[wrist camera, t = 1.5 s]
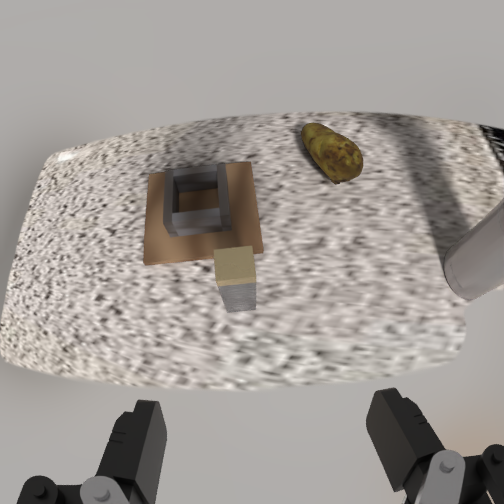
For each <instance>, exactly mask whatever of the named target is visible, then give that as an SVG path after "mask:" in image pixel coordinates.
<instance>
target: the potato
mask: <svg viewBox="0 0 504 504" xmlns="http://www.w3.org/2000/svg"><path fill="white" fill-rule="evenodd" d="M301 136H302V141H303V143H304V144H305V145H304V146H305V147H306V149H307V150H308V151H309V153H310V155H311V157H312V158H313V160H314V161H315V162H316V163H317V164H318V165H319V167H320V168H321V169H322V170H323V171H324V172H325V174H326V175H327V176H329V177H330V178H331V179H330V180H332V181H331V182H333V183H334V184H340V182H346V181H350V180H351V179H354V178H356V177H358V176H359V175H360V174H361V171H362V168H363V157H362V154H361V151H360V150H359V148H358V146H357V145H356V144H355V143H354V142H352V141H351V140H349V139H348V138H346V137H344V136H343V135H340V134H338V133H335V132H334V131H333V130H331V129H330V128H328V127H326V126H324V125H322V124H318V123H308V124H306V125H305V126H304V127H303V129H302V131H301Z"/></svg>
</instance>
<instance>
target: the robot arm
mask: <svg viewBox="0 0 504 504" xmlns="http://www.w3.org/2000/svg"><path fill="white" fill-rule="evenodd" d="M444 271H445V276H446V279H447V281H448V283H449V285H450V287H451V288H452V290H453V291H454V292H455V293H456V294H457V295H458V296H460V297H461V298H463V299H466V300H473V299H476V298H478V297H480V296H482V295H484V294H486V293H487V292H489V291H491V290H493V289H495V288H497V287H498V286H500V285H502V284H504V198H503V199H502V201H501V202H500V203H499V204H498V205H497V206H496V207H495V208H494V209H492V210H491V211H490V212H489V213H488V214H487V215H486V216H485V217H484V218H483V219H482V220H481V221H480V222H479V223H478V224H477V225H476V226H475V227H474V228H472V229H471V230H470V231H469V232H468V233H467V234H466V235H465V236H464V237H462V238H461V239H460V240H459V241H458V242H457V243H456V244H455V245H453V246H452V247H451V248H450V249H449V250H448V252H447V253H446V256H445V260H444ZM366 427H367V431H368V433H369V435H370V437H371V440H372V442H373V444H374V447H375V449H376V451H377V454H378V456H379V458H380V460H381V462H382V465H383V467H384V470H385V472H386V474H387V477H388V479H389V481H390V484H391V486H392V488H393V491H394V492H397V491H400V490H403V489H404V490H405V492H406V495H405V497H404V499H403V501H402V504H492V502H491V500H490V498H489V496H488V494H487V493H486V492H487V491H488V492H489V494H490V495H491V497H492V499H493V501H494V503H495V504H504V446H502V445H499V444H494V445H490V446H489V447H487V448H486V449H485V451H484V452H483V454H482V455H476V456H469V457H462V456H461V455H460V454H459V453H457V452H455V451H452V450H446V449H445V448H444V446H443V445H442V443H441V441H440V440H439V438H438V437H437V435H436V434H435V432H434V430H433V429H432V427H431V426H430V424H429V423H427V420H426V418H425V417H424V416H423V414H422V412H421V410H420V409H419V407H418V406H417V405H416V404H415V403H414V402H413V401H411V400H410V399H409V398H407V397H406V398H402V397H401V395H400V393H399V392H398V390H397V389H396V388H389V389H384V390H378V391H376V392H375V393H374V397H373V399H372V402H371V405H370V409H369V412H368V415H367V418H366ZM166 441H167V430H166V425H165V422H164V418H163V414H162V410H161V407H160V404H159V402H158V401H148V400H138V401H137V403H136V405H135V408H134V411H133V412H124V413H123V414H122V415H121V416H120V417H119V418H118V419H117V420H116V422H115V425H114V427H113V430H112V433H111V435H110V438H109V442H108V444H107V446H106V449H105V452H104V454H103V457H102V460H101V463H100V465H99V468H98V471H97V473H96V475H95V476H94V477H91V478H89V479H87V480H86V481H85V482H84V483H83V484H81V485H56V484H55V483H54V482H53V481H52V480H51V479H49V478H48V477H45V476H33V477H31V478H29V479H28V480H27V481H26V482H25V483H24V485H23V488H22V491H21V493H20V496H19V498H18V501H17V504H155V501H156V495H157V489H158V484H159V478H160V473H161V467H162V462H163V457H164V451H165V446H166Z"/></svg>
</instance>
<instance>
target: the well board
mask: <svg viewBox="0 0 504 504" xmlns="http://www.w3.org/2000/svg"><path fill="white" fill-rule="evenodd" d="M244 246H252V248H253V254H259V253H263V243H262V236H261V229H260V222H259V215H258V208H257V201H256V194H255V187H254V181H253V174H252V167H251V162H241V163H231V164H225V163H222V164H213V165H205V166H197V167H189V168H182V169H175V170H168V171H165V172H161V173H155V174H149V182H148V193H147V205H146V219H145V235H144V258H143V263H144V264H145V265H155V264H165V263H174V262H184V261H193V260H202V259H212V258H214V250H216V249H225V248H235V247H244Z"/></svg>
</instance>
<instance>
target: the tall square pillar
mask: <svg viewBox="0 0 504 504" xmlns="http://www.w3.org/2000/svg"><path fill="white" fill-rule="evenodd" d="M214 263H215V277H216V283H217V286H218V288H219V291H220V294H221V296H222V299H223V302H224V304H225V307H226V310H227V312H238V311H247V310H256V272H255V264H254V256H253V248H252V246H244V247H235V248H225V249H216V250H214Z"/></svg>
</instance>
